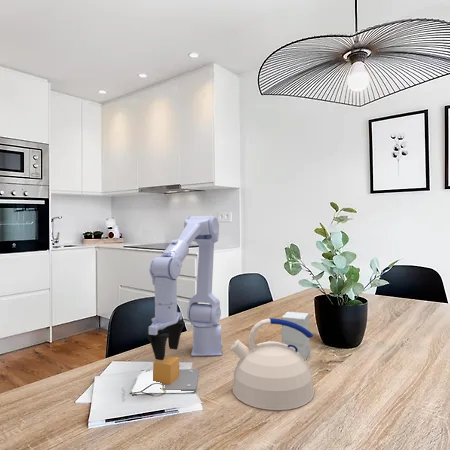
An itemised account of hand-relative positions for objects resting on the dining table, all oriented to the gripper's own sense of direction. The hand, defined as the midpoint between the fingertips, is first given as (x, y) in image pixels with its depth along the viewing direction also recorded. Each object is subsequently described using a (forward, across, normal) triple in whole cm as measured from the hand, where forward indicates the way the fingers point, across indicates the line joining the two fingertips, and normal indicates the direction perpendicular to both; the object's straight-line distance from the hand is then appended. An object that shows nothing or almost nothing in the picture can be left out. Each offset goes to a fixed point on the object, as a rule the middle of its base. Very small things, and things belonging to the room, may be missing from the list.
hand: (166, 353), depth 95 cm
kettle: (+8, -4, +27) cm, 29 cm away
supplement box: (+8, -30, +30) cm, 43 cm away
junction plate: (+8, 0, 0) cm, 8 cm away
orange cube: (+7, 0, 0) cm, 7 cm away
